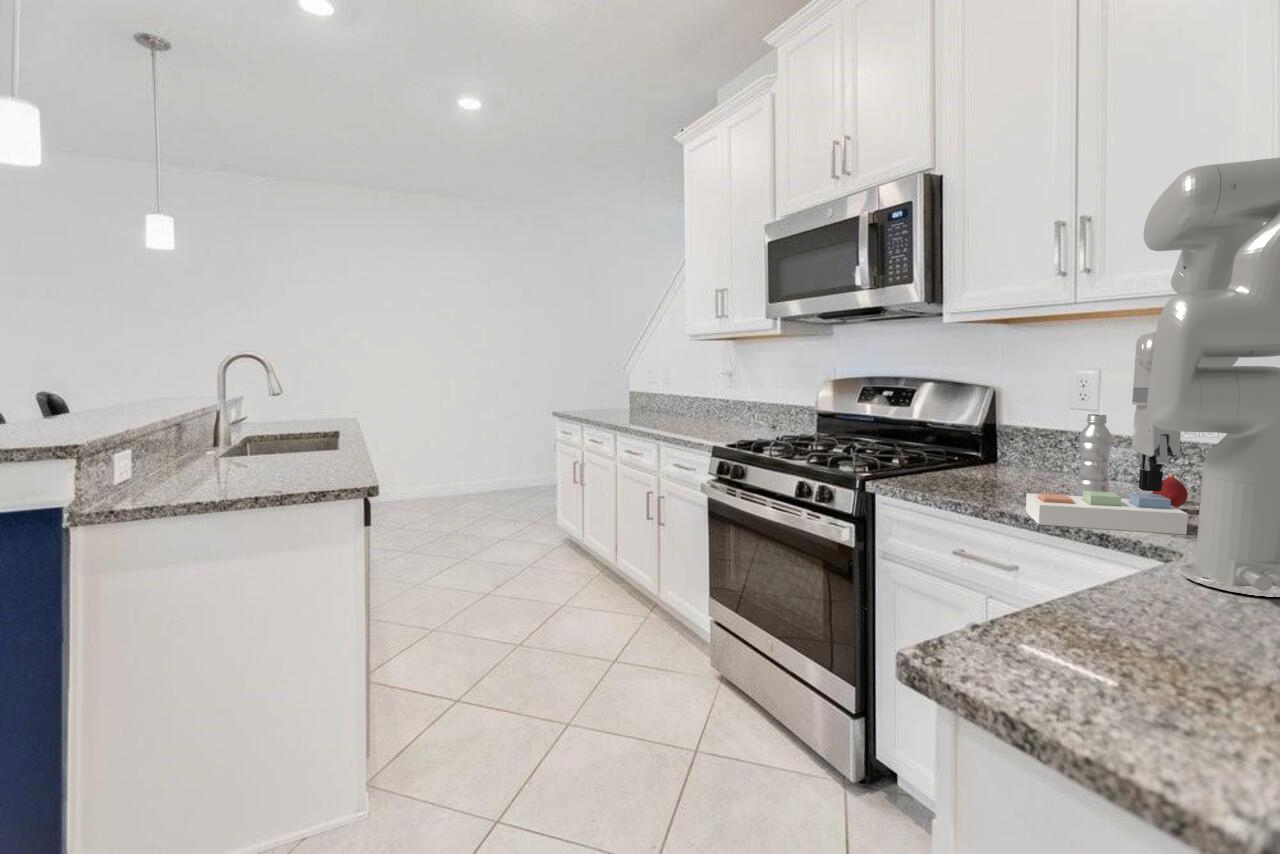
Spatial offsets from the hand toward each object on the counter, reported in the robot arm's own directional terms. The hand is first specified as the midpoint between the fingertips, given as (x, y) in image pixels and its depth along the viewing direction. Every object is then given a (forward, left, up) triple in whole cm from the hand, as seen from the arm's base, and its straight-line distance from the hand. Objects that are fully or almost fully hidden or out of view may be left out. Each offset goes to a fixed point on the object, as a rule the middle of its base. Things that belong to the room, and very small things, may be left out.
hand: (1149, 490), depth 127 cm
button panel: (0, +8, -7) cm, 11 cm away
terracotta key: (0, +16, -6) cm, 17 cm away
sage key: (0, +8, -4) cm, 9 cm away
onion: (+16, -9, -7) cm, 20 cm away
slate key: (0, 0, -4) cm, 4 cm away
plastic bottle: (+24, +3, -7) cm, 25 cm away
